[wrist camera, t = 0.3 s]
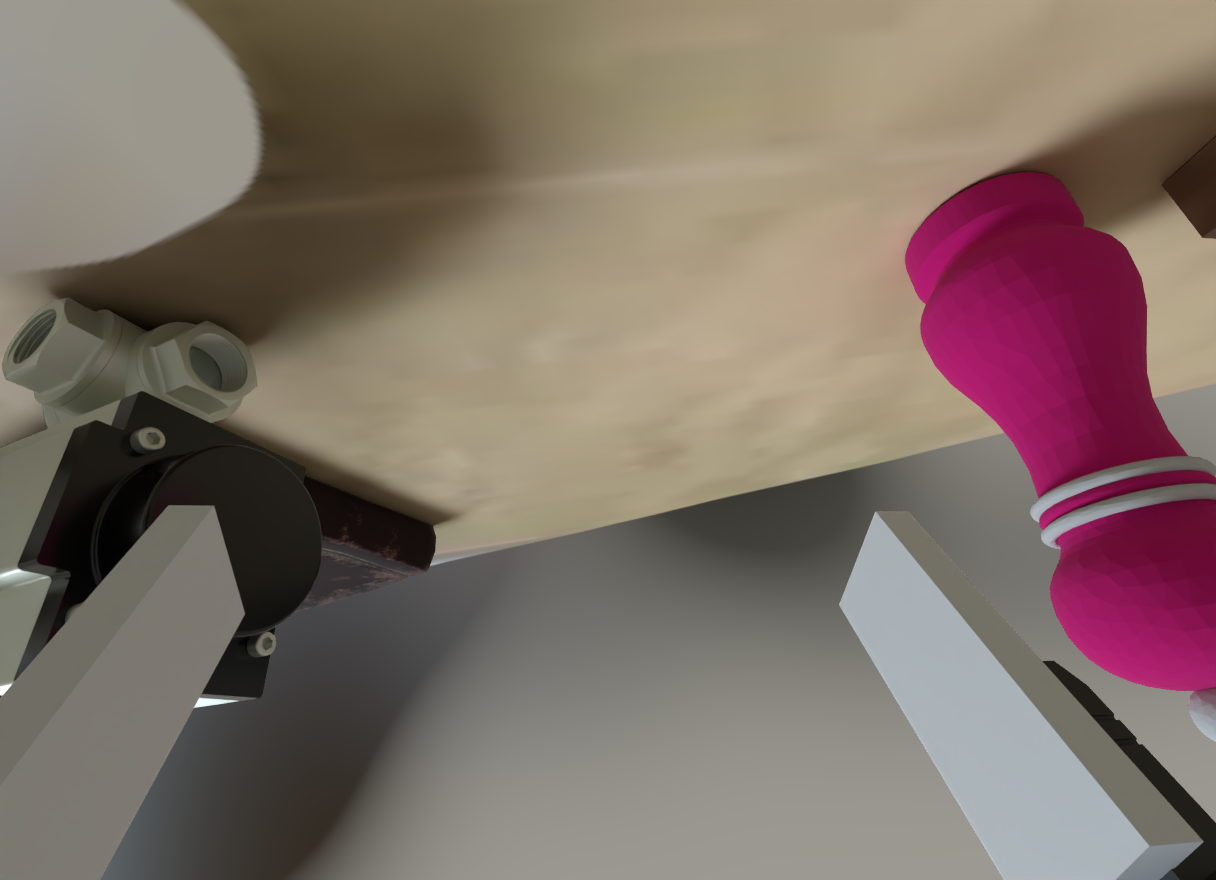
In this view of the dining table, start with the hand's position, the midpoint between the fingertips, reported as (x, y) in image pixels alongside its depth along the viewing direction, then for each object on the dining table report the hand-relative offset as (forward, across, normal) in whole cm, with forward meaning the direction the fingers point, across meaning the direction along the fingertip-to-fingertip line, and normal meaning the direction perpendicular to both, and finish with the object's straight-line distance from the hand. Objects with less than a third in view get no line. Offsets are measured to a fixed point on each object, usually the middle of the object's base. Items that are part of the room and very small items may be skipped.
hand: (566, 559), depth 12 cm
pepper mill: (+16, +18, +5) cm, 25 cm away
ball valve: (+20, -19, -4) cm, 27 cm away
